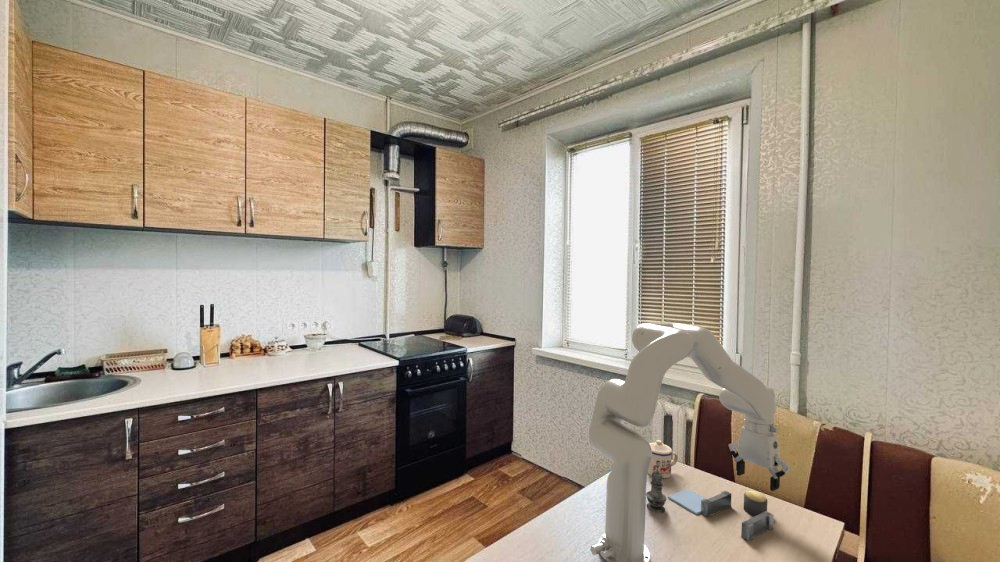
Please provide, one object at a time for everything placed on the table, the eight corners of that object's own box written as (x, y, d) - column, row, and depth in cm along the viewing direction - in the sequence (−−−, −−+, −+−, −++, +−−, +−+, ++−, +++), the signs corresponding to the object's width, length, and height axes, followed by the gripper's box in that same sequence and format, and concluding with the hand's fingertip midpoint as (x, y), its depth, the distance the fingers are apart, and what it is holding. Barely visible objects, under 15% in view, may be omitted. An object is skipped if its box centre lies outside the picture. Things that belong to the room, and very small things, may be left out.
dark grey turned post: (668, 515, 118) (669, 475, 117) (647, 512, 119) (648, 472, 119) (664, 503, 123) (665, 465, 123) (644, 501, 125) (645, 463, 124)
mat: (696, 515, 118) (696, 513, 118) (667, 497, 127) (667, 496, 127) (716, 506, 123) (716, 504, 123) (687, 490, 132) (687, 488, 132)
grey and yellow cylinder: (760, 519, 117) (760, 503, 116) (739, 509, 122) (739, 493, 122) (771, 514, 120) (771, 497, 119) (750, 503, 125) (751, 488, 125)
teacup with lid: (653, 480, 138) (654, 446, 137) (639, 467, 147) (640, 436, 146) (684, 478, 140) (685, 445, 139) (669, 465, 148) (670, 434, 148)
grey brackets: (748, 541, 107) (749, 526, 107) (700, 513, 119) (701, 500, 119) (772, 528, 113) (773, 514, 112) (724, 503, 125) (725, 490, 125)
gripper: (797, 434, 114) (795, 492, 115) (737, 414, 129) (735, 466, 130) (783, 439, 111) (781, 499, 111) (723, 418, 126) (721, 471, 126)
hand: (756, 481), depth 120 cm, fingers open, 9 cm apart
